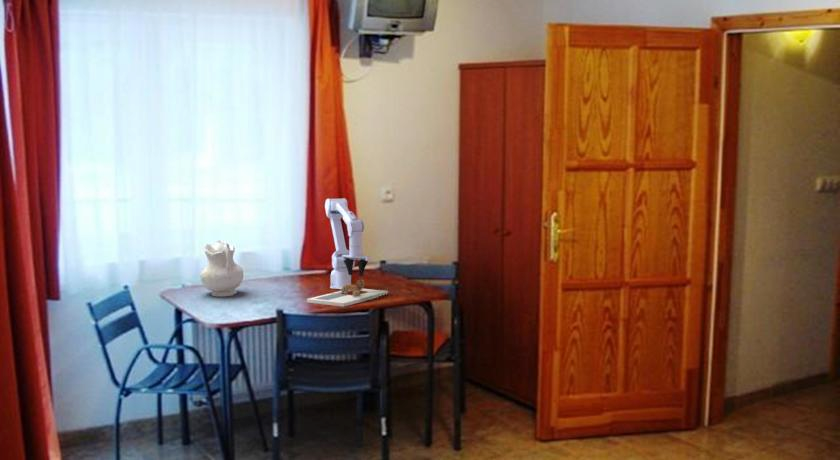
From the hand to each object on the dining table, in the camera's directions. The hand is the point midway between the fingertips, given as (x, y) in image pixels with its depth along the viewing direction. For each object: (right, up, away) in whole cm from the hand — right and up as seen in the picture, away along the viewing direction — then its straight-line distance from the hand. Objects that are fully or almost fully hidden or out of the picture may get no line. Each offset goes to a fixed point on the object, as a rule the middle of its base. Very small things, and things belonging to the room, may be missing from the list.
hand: (355, 275), depth 371 cm
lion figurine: (-2, -10, 0) cm, 10 cm away
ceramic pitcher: (-61, -10, 0) cm, 62 cm away
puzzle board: (-2, -10, -7) cm, 13 cm away
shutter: (+7, -9, -7) cm, 13 cm away
